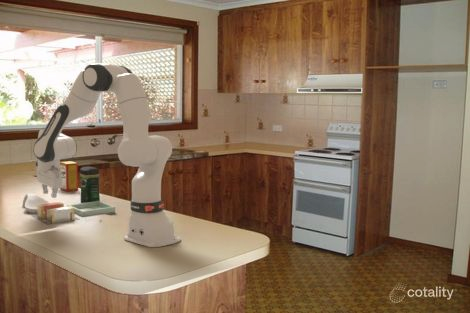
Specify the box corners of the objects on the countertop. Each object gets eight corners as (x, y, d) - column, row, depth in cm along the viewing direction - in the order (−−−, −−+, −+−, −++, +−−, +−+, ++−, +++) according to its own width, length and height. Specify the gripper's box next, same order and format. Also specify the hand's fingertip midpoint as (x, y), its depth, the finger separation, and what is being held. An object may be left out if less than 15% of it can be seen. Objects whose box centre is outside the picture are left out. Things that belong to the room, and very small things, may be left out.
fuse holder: (80, 221, 204) (80, 207, 203) (47, 227, 195) (47, 212, 194) (62, 213, 218) (62, 200, 217) (31, 217, 209) (30, 204, 208)
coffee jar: (102, 203, 239) (101, 167, 237) (88, 206, 233) (87, 168, 231) (92, 200, 245) (91, 164, 243) (78, 202, 239) (77, 166, 237)
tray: (115, 213, 220) (115, 206, 220) (82, 218, 209) (82, 211, 209) (99, 206, 232) (99, 200, 231) (67, 211, 221) (67, 205, 221)
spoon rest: (56, 214, 217) (56, 198, 216) (29, 217, 210) (29, 202, 209) (39, 204, 235) (38, 190, 234) (14, 207, 228) (13, 193, 227)
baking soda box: (78, 190, 271) (77, 162, 269) (67, 191, 267) (66, 163, 265) (70, 187, 278) (70, 160, 276) (59, 188, 274) (59, 161, 272)
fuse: (63, 214, 212) (63, 203, 211) (41, 217, 205) (40, 206, 205) (60, 212, 215) (60, 201, 214) (37, 216, 208) (37, 204, 207)
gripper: (66, 167, 202) (66, 198, 204) (47, 161, 217) (48, 190, 218) (51, 168, 197) (51, 200, 199) (33, 162, 212) (34, 192, 214)
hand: (49, 195), depth 209 cm, fingers open, 8 cm apart
